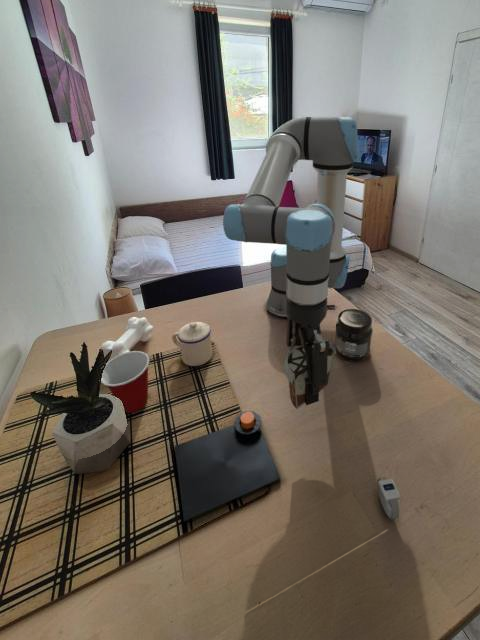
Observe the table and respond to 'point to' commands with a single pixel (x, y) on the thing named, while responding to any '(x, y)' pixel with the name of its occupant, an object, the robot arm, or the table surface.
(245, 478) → the scale
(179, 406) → the table surface
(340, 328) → the supplement container
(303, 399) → the slice of cake
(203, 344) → the teacup with lid
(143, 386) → the plastic cup
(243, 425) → the tare button
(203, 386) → the table surface
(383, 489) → the wristwatch
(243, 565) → the table surface
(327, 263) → the robot arm
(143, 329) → the bone shaped toy
